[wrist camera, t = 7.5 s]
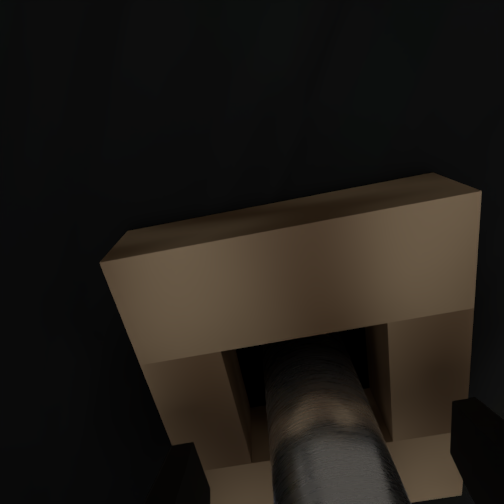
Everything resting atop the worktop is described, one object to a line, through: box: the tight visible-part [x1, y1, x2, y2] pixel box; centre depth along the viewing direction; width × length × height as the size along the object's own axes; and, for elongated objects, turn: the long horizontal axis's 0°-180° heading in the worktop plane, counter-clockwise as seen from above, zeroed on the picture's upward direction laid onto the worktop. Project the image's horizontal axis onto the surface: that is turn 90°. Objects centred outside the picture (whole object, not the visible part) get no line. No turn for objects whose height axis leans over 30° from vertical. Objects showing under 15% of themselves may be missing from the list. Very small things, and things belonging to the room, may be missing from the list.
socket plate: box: [100, 173, 482, 504], centre depth 13 cm, size 10×12×2 cm
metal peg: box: [262, 332, 411, 504], centre depth 10 cm, size 3×3×8 cm
